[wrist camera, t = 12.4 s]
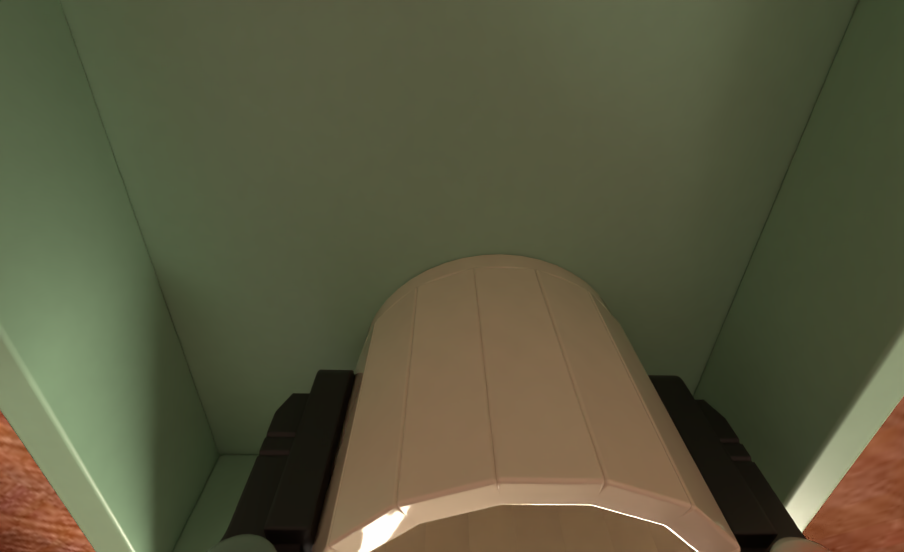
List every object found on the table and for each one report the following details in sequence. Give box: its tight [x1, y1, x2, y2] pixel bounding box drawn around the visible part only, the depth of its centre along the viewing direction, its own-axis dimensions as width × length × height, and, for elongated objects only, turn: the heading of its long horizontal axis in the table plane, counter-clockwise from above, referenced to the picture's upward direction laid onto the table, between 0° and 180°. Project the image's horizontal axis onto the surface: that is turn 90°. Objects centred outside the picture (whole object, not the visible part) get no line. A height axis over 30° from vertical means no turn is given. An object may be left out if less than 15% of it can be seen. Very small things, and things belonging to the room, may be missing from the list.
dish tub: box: [0, 0, 904, 552], centre depth 8 cm, size 15×17×4 cm
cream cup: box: [311, 254, 741, 552], centre depth 9 cm, size 6×6×6 cm
